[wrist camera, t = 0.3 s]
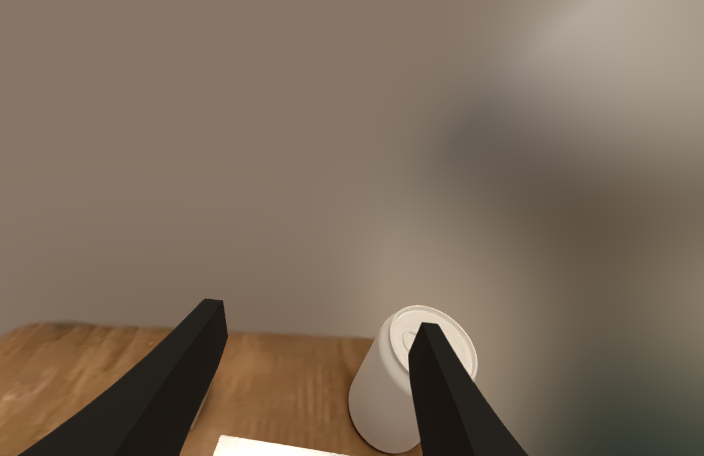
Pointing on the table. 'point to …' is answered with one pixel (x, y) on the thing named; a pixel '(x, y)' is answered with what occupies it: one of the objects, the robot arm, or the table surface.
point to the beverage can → (398, 379)
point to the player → (261, 449)
